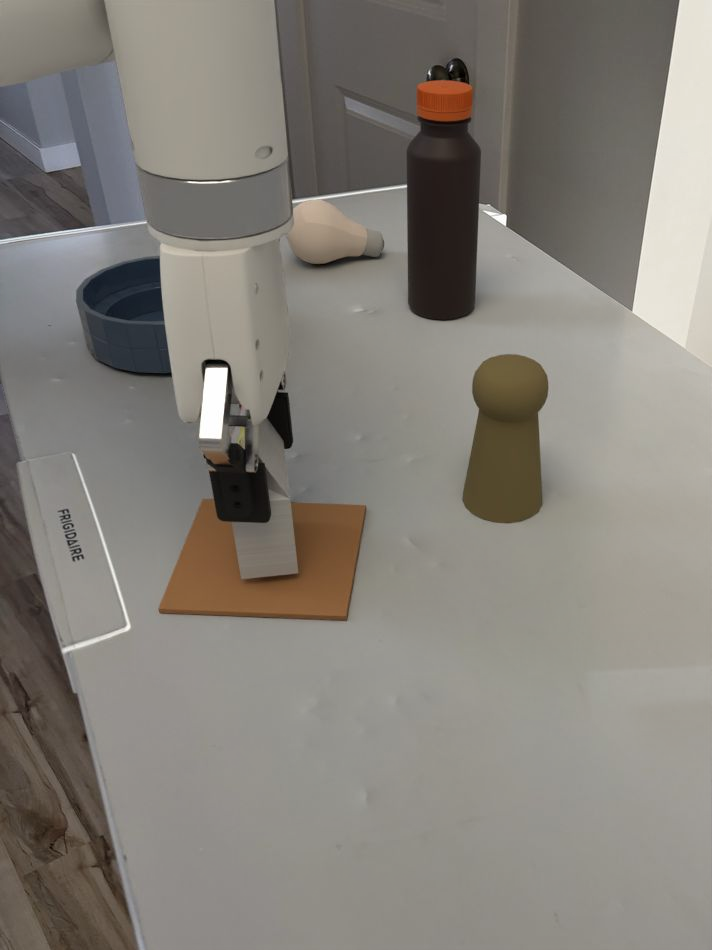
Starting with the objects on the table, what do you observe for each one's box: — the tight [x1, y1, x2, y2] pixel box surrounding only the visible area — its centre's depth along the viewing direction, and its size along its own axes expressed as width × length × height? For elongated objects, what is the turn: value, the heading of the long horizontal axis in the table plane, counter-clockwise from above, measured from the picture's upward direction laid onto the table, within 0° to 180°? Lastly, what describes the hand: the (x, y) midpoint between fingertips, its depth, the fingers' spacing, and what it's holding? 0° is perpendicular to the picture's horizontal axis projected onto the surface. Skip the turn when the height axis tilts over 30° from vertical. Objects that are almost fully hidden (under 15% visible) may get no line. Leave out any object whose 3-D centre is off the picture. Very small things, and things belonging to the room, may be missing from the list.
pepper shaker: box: [461, 353, 549, 524], centre depth 66 cm, size 6×6×11 cm
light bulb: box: [285, 199, 385, 265], centre depth 101 cm, size 7×7×11 cm
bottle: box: [406, 79, 482, 321], centre depth 87 cm, size 7×7×20 cm
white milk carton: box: [230, 405, 298, 579], centre depth 60 cm, size 4×7×10 cm, turn 11°
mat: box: [158, 498, 367, 621], centre depth 63 cm, size 12×12×1 cm
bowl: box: [75, 255, 172, 374], centre depth 86 cm, size 15×15×5 cm
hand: (257, 479), depth 59 cm, fingers closed on white milk carton, 7 cm apart
